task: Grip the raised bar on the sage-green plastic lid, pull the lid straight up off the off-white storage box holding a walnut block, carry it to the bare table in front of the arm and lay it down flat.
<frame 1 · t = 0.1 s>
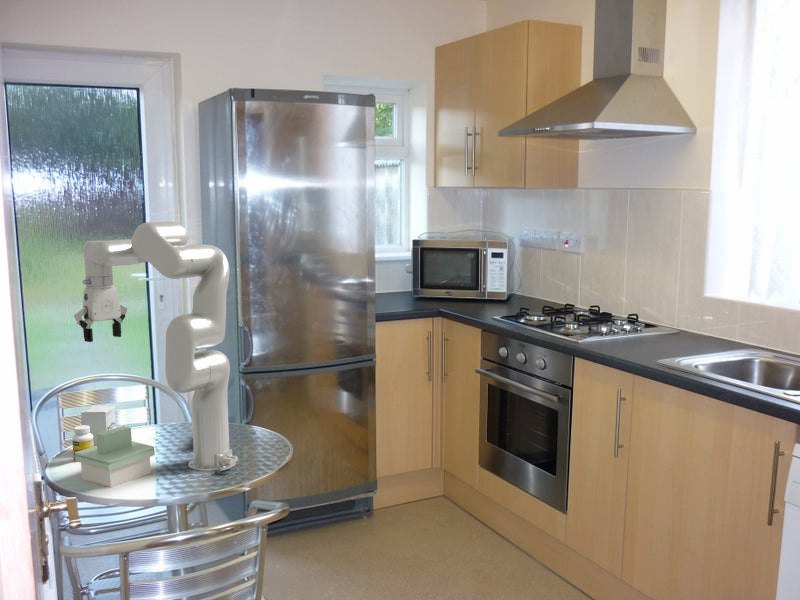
hand: (103, 339, 227), 31 cm above the table, tool pointing down, fingers open, 9 cm apart
lid: (115, 458, 197), point 5 cm above the table, touching storage box
storage box: (116, 478, 197), on the table
candy box: (215, 442, 228), on the table
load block: (116, 475, 197), point 1 cm above the table, touching storage box
supplement box: (100, 451, 220), on the table
supplement bottle: (84, 461, 212), on the table
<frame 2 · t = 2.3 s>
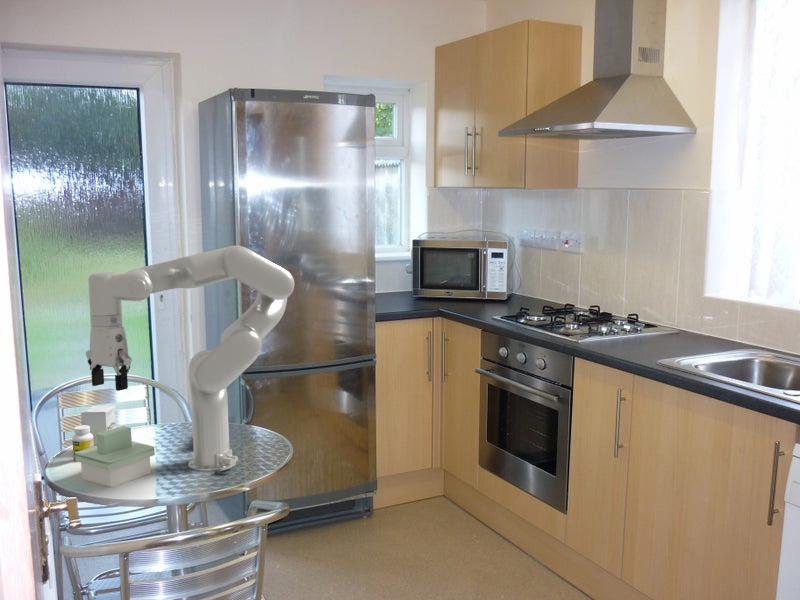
hand: (109, 387, 194), 24 cm above the table, tool pointing down, fingers open, 9 cm apart
nothing on the table moved.
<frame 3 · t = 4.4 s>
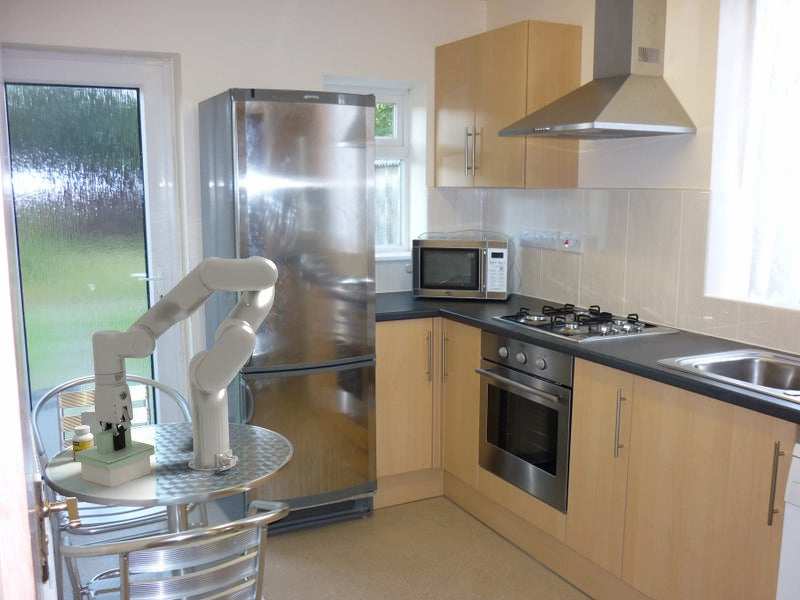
hand: (115, 447, 196), 8 cm above the table, tool pointing down, fingers closed on lid, 3 cm apart
lid: (115, 457, 197), point 6 cm above the table, touching gripper
everything else where it was.
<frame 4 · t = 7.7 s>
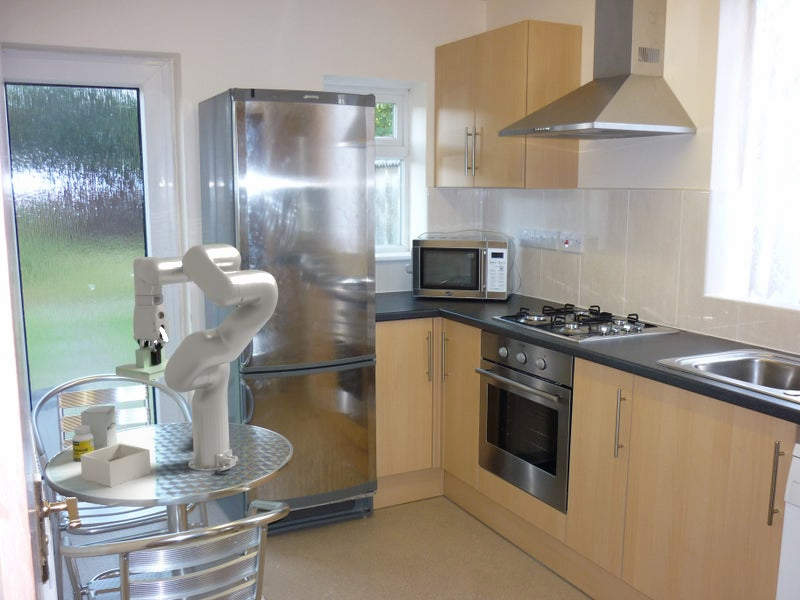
hand: (151, 363, 218), 26 cm above the table, tool pointing down, fingers closed on lid, 3 cm apart
lid: (151, 372, 219), point 23 cm above the table, touching gripper
everything else where it was.
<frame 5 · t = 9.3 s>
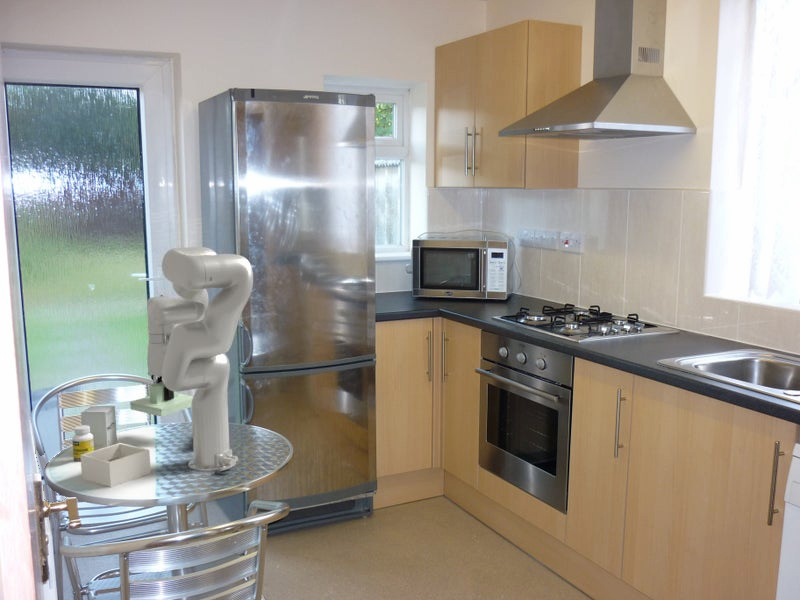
hand: (164, 398, 227), 13 cm above the table, tool pointing down, fingers closed on lid, 3 cm apart
lid: (164, 406, 227), point 11 cm above the table, touching gripper
everything else where it was.
when the fingers open (4 cm above the table, at t = 10.9 s): lid drops 2 cm, on the table.
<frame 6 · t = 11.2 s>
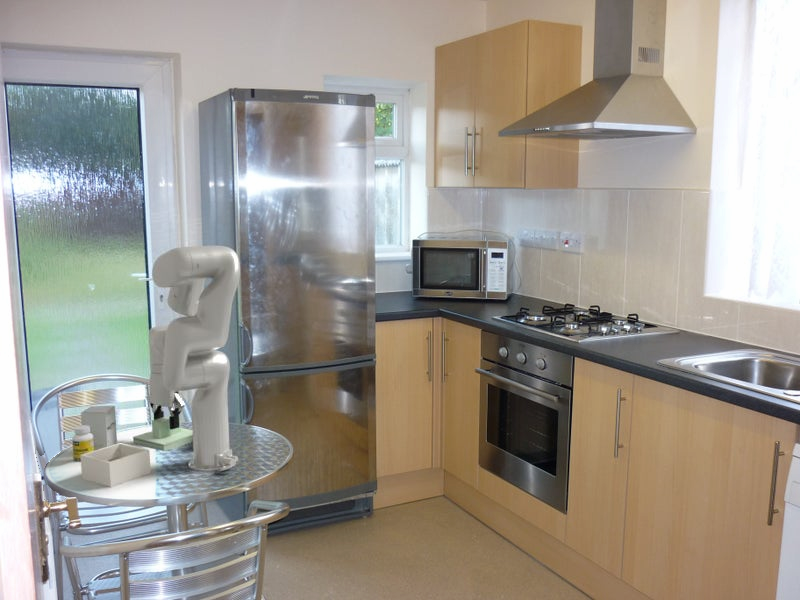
hand: (167, 426, 228), 5 cm above the table, tool pointing down, fingers open, 6 cm apart
lid: (167, 441, 228), on the table
everything else where it was.
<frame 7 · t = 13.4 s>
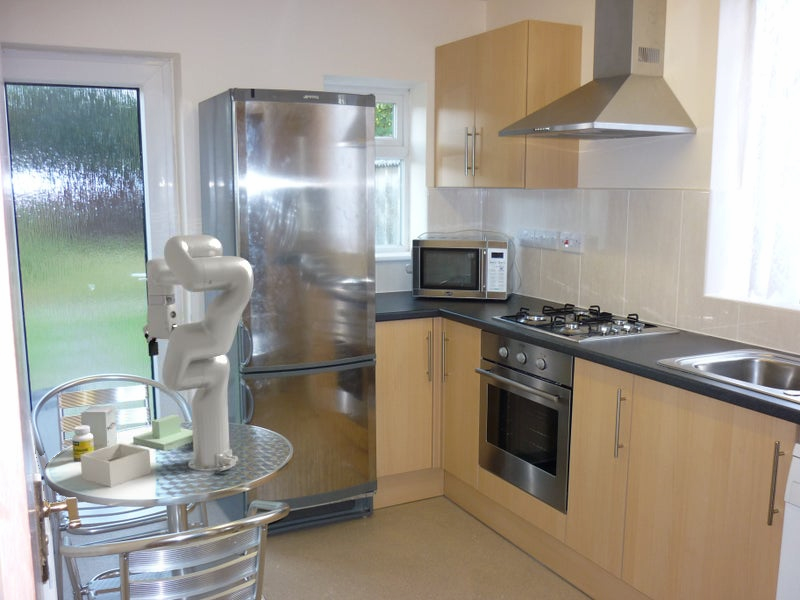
hand: (164, 357, 227), 26 cm above the table, tool pointing down, fingers open, 9 cm apart
nothing on the table moved.
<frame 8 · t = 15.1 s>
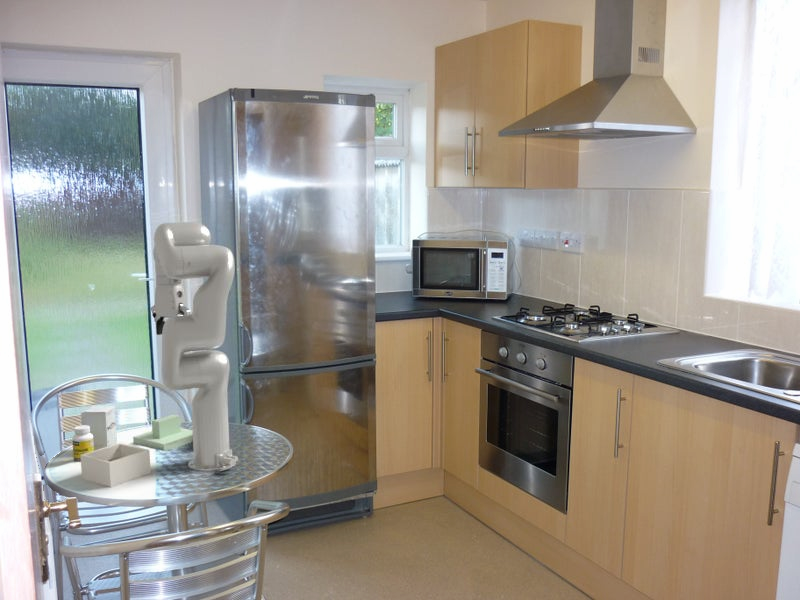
hand: (171, 335, 237), 30 cm above the table, tool pointing down, fingers open, 9 cm apart
nothing on the table moved.
at the end: lid inside the target area (0.1 cm from its centre), on the table; lid tilted 0°; the gripper is holding nothing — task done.
